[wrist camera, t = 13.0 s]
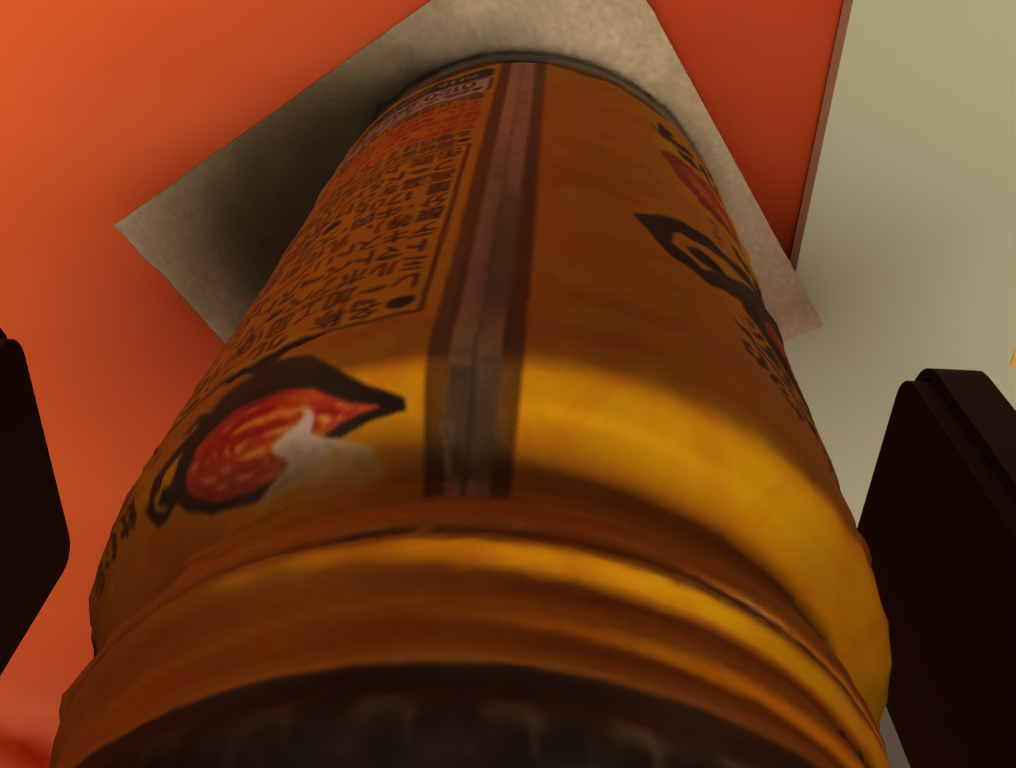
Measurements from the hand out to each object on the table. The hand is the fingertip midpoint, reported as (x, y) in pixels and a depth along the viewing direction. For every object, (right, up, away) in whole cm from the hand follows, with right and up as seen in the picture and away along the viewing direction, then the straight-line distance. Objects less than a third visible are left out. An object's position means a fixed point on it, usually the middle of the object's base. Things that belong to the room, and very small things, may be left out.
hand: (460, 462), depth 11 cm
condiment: (0, +3, +5) cm, 6 cm away
